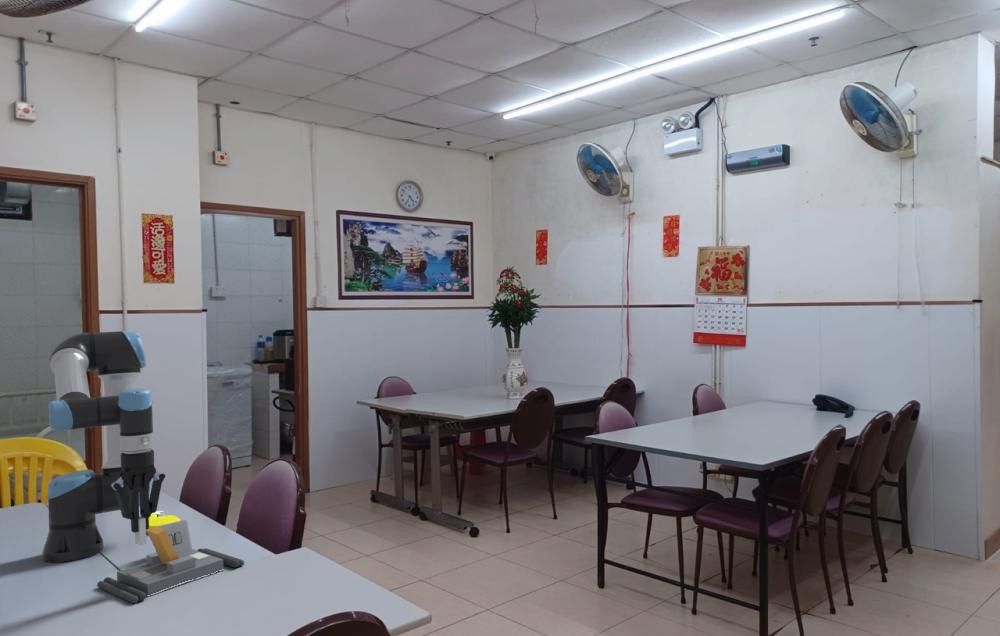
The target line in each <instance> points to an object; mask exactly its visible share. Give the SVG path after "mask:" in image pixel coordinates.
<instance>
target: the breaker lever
mask: <svg viewBox="0 0 1000 636" xmlns="http://www.w3.org/2000/svg"><path fill="white" fill-rule="evenodd" d="M146 531H147V532H146V534H147V535H148V537H149V539H150V540H151V544H152V546H153V547H154V550H155V552H156V551H157V554H158V556H159V558H160V560H161V562H163V563H166V564H167V562H170V561H173V560H176V559H179V558H178V555H177V553H176V551H175V549H174V547H173V545H172V543H171V541H170V538H169V536H168V534H167V532H166V530H165V529H163V528H159V527H156V526H152V527H151V528H149V529H148V530H146Z"/></svg>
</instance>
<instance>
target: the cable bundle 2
mask: <svg viewBox="0 0 1000 636" xmlns="http://www.w3.org/2000/svg"><path fill="white" fill-rule="evenodd" d="M196 551H199V552H202V553H205V554H208V555H211V556H214V557H218V558H221V559H223V566H224V565H225V566H228V567H230V568H233V567H234V569H237V568H238V567H242V565H243V566H244V565H245V561H244V560H243V559H241V558H237V557H234V556H233V555H228V554H226V553H222V552H218V551H217V550H216V551H215V550H212V549H210V548H206V547H205V548H198V549H196ZM236 567H237V568H236Z"/></svg>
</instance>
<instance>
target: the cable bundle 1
mask: <svg viewBox="0 0 1000 636" xmlns="http://www.w3.org/2000/svg"><path fill="white" fill-rule="evenodd" d="M96 587H98V588H99V589H101V590H103V591H106V592H108V593H111V594H113V595H114V596H117V597H119V598H120V599H121V598H122V599H123V600H125V601H127V602H130V603H132V604H136V603H138V601H140V602H142V600H143V601H144V599H145V600H146V598H147V596H146V593H144V592H142V591H140V590H137V589H135V588H133V587H131V586H128V585H126V584H124V583H121V582H119V581H117V579H114V578H112V577H109V576H107V577H105V578H104V579H103V580H99V581H97V584H96Z"/></svg>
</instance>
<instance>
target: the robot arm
mask: <svg viewBox="0 0 1000 636" xmlns="http://www.w3.org/2000/svg"><path fill="white" fill-rule="evenodd" d="M146 365H147V362H146V353H145V346H144V344H143V340H142V337H141V335H140V333H138V332H137V331H123V330H121V331H120V330H119V331H102V332H99V331H98V332H82V333H77V334H74V335H71V336H69V337H67V338H66V339H63V340H62V341H61V342H60V343H58V344H57V345H56V347H55V348H54V349H53V350H52V353H51V354H50V357H49V368H50V370H51V372H52V373H53V374H54V381H55V394H56V396H55V397H56V400H52V401H51V402H49V404H48V422H49V425H48V426H49V429H50V430H52V431H70V430H78V429H85V428H86V429H87V428H94V427H96V428H97V427H103V426H105V436H106V437H105V438H106V454H107V455H106V462H105V463H104V464H102V466H101V473H95V472H94V470H93V469H84V470H83V469H82V470H77V471H72V472H69V473H65V474H63V475H62V474H61V475H60V476H57V477H55V478H53V479H52V480H50V482H48V485H47V495H46V499H47V501H48V503H47V505H48V532H47V533H48V534H47V537H46V539H45V542H44V545H43V549H42V559H43V561H44V560H45V561H44V562H47V561H49V562H48V563H64V561H65V562H71V560H72V561H76V560H81V559H85V558H88V557H91V556H95V555H96V553H97V554H98V552H99V553H100V552H102V551H103V550H104V540H103V539H104V538H103V537H102V535H101V533H100V530H99V528H98V525H97V521H96V520H97V519H96V515H98V514H104V513H105V514H106V513H110V512H111V513H112V512H117V511H120V513H121V517H122V518H123V519H127V520H130V531H131V532H132V533H134V544H135V545H138V546H144V545H146V544H147V532H146V530H147V529H149V517H150V516H151V514H152V513H155V512H156V511H158V505H159V499H160V494H161V489H162V483H164V482H163V481H164V480H165V478H166V474H165V473H161V472H159V471H157V469H156V467H155V451H154V449H153V448H154V447H155V446H154V445H155V443H154V428H153V426H154V425H153V424H154V423H153V404H154V401H153V397H152V391H151V390H150V389H148V388H137V384H136V383H137V382H136V379H137V378H138V377H140V375H141V374H142V373H141V369H143V368H146ZM95 371H96V372H97V378H98V379H100V380H101V381H102V382H103V389H104V390H103V391H104V396H97V397H91V395H90V388H89V382H88V381H89V380H88V375H87V372H95ZM152 480H153V481H152ZM102 549H103V550H102ZM101 550H102V551H101Z"/></svg>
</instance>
